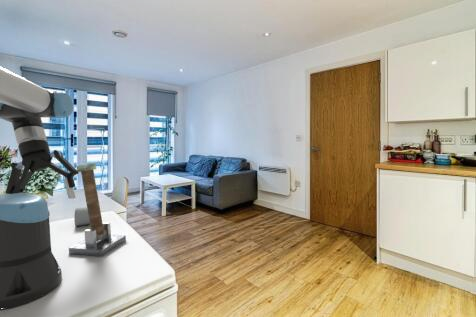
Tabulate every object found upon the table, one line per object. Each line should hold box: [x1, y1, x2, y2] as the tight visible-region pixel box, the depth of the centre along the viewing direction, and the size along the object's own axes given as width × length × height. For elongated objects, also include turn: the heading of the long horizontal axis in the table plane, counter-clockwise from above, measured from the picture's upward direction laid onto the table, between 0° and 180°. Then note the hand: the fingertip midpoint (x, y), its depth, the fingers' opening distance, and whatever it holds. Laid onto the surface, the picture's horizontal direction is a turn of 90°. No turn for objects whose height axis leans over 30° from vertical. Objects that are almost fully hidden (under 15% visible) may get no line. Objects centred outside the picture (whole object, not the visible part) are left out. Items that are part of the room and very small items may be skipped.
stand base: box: [68, 221, 127, 257], centre depth 84 cm, size 12×12×7 cm
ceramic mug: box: [73, 206, 90, 227], centre depth 108 cm, size 11×8×8 cm
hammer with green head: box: [76, 163, 107, 241], centre depth 83 cm, size 5×4×26 cm
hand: (49, 205), depth 77 cm, fingers open, 13 cm apart
